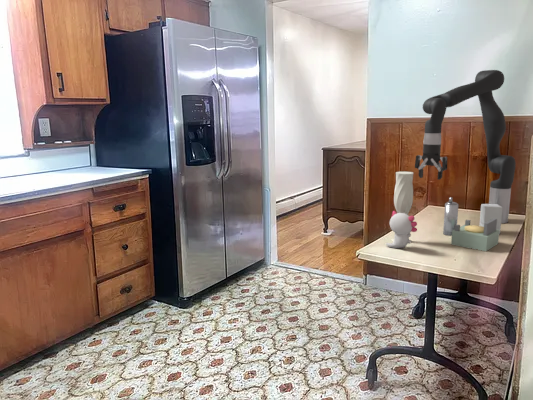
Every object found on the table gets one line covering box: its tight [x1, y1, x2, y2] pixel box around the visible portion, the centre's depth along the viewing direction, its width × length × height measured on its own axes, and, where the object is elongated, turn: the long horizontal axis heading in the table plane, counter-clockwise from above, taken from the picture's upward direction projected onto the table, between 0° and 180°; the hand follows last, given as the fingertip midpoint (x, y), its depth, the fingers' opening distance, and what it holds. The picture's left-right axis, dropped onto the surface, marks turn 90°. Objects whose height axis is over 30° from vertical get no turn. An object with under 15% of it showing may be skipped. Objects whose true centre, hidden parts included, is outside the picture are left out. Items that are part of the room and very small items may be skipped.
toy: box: [384, 210, 418, 249], centre depth 181 cm, size 14×8×15 cm, turn 29°
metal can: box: [442, 196, 459, 237], centre depth 200 cm, size 6×6×17 cm
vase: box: [390, 171, 414, 243], centre depth 190 cm, size 9×8×30 cm
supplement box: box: [478, 203, 502, 235], centre depth 203 cm, size 7×7×13 cm
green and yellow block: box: [450, 218, 500, 252], centre depth 186 cm, size 14×14×11 cm
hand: (430, 178), depth 203 cm, fingers open, 8 cm apart
